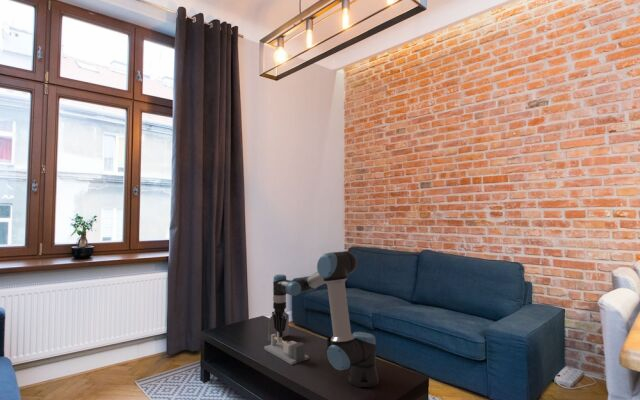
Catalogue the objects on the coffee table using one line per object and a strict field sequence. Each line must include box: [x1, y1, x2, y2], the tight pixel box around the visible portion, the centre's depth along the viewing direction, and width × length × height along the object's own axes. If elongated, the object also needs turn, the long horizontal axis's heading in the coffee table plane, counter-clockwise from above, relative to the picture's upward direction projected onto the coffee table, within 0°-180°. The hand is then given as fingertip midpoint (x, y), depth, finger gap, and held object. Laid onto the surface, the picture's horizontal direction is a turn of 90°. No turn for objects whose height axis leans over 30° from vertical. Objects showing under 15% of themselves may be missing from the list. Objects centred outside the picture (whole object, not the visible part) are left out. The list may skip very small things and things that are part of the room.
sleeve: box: [283, 340, 297, 354], centre depth 204 cm, size 5×7×4 cm
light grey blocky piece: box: [263, 334, 310, 366], centre depth 209 cm, size 28×12×9 cm, turn 41°
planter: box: [267, 311, 290, 342], centre depth 237 cm, size 16×8×19 cm, turn 134°
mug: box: [326, 336, 333, 351], centre depth 207 cm, size 9×12×9 cm
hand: (279, 342), depth 208 cm, fingers closed
